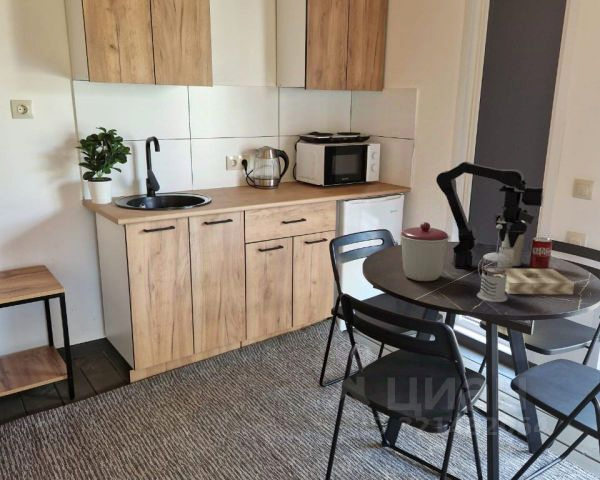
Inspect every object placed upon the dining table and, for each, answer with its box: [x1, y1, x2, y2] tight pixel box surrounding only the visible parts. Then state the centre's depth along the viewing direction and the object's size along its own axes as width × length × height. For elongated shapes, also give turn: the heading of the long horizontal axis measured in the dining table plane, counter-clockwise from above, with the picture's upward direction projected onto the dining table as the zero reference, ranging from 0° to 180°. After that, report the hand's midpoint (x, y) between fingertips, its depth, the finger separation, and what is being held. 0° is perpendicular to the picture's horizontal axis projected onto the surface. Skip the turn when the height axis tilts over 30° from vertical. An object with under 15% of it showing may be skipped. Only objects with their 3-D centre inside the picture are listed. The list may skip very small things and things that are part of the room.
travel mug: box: [500, 220, 526, 267], centre depth 208 cm, size 8×8×18 cm
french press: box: [476, 225, 509, 303], centre depth 172 cm, size 10×12×25 cm
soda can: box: [528, 236, 553, 269], centre depth 203 cm, size 7×7×12 cm
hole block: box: [494, 268, 575, 295], centre depth 184 cm, size 22×16×4 cm
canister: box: [399, 221, 451, 282], centre depth 191 cm, size 18×18×21 cm
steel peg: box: [496, 246, 514, 269], centre depth 198 cm, size 4×4×10 cm
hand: (506, 244), depth 196 cm, fingers open, 9 cm apart
